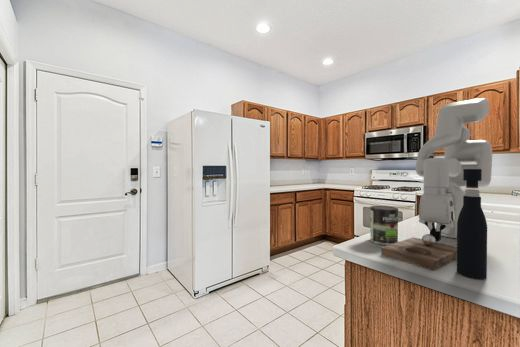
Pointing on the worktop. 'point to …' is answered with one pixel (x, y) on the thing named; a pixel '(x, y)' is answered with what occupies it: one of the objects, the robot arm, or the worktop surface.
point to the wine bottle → (472, 230)
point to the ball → (428, 239)
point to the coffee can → (384, 225)
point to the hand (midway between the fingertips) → (435, 240)
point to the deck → (421, 253)
